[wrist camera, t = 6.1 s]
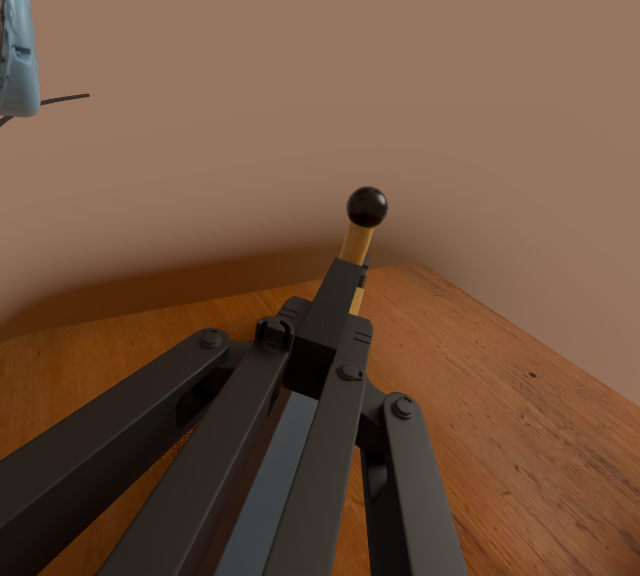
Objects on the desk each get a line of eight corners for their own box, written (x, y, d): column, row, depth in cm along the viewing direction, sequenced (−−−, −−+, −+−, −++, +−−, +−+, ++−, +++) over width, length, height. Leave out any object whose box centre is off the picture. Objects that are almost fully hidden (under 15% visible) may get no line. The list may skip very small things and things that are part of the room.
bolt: (340, 349, 21) (392, 198, 16) (309, 338, 21) (349, 186, 16) (356, 295, 27) (398, 172, 22) (332, 287, 27) (367, 163, 22)
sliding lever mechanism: (262, 829, 11) (317, 871, 6) (88, 740, 12) (12, 712, 7) (366, 331, 36) (394, 258, 31) (307, 311, 36) (325, 237, 31)
